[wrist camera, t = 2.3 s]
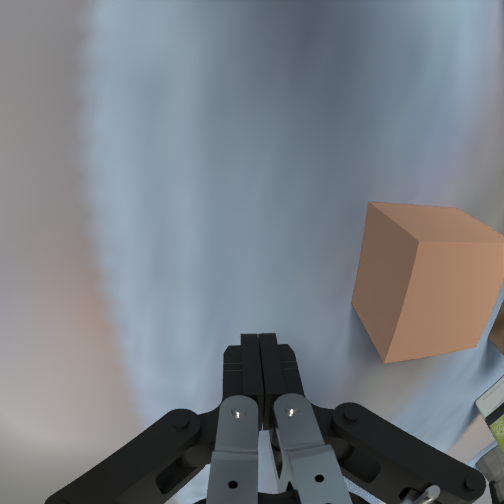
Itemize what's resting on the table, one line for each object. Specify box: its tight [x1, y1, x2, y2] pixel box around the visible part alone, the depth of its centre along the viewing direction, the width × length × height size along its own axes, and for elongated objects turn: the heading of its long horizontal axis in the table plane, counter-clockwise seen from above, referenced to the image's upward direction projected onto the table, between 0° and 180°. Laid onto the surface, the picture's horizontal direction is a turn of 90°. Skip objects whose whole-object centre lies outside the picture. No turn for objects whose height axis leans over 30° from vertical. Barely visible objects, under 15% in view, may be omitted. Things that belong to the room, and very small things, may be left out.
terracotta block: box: [352, 202, 504, 364], centre depth 19 cm, size 8×8×7 cm
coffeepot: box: [476, 445, 504, 504], centre depth 37 cm, size 15×9×18 cm, turn 70°
